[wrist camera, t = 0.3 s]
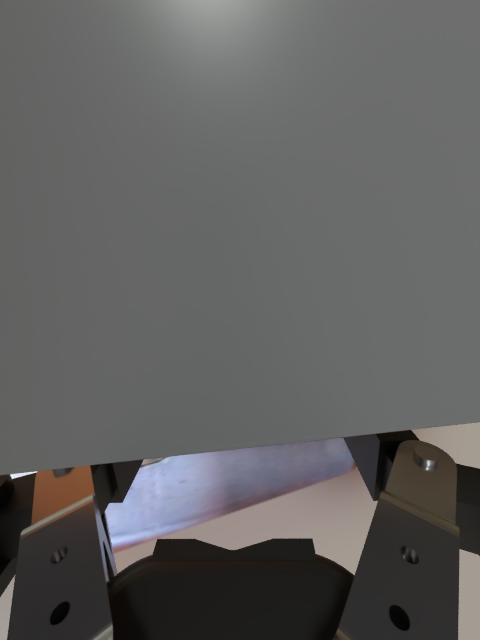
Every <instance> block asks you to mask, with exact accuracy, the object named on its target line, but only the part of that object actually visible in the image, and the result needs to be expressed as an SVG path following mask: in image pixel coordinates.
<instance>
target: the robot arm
mask: <svg viewBox="0 0 480 640" xmlns="http://www.w3.org/2000/svg"><path fill="white" fill-rule="evenodd" d="M343 438H344V440H345V442H346V444H347V446H348V448H349V450H350V453H351V455H352V457H353V459H354V461H355V463H356V465H357V467H358V469H359V471H360V474H361V476H362V478H363V480H364V482H365V484H366V486H367V488H368V490H369V492H370V495H371V496H372V499H373V501H378V503H377V507H376V510H375V513H374V516H373V519H372V522H371V526H370V529H369V532H368V535H367V538H366V541H365V545H364V548H363V551H362V554H361V557H360V561H359V564H358V567H357V570H356V573H355V576H354V575H353V574H352V573H350V572H349V571H348V570H346V569H345V568H344V567H342V566H341V565H339V564H337V563H336V562H334V561H332V560H330V559H328V558H325V557H323V556H320V555H317V554H315V549H314V544H313V540H312V539H271V540H267V541H264V542H261V543H258V544H254V545H251V546H248V547H244V548H241V549H238V550H228V549H225V548H222V547H218V546H215V545H212V544H209V543H206V542H202V541H199V540H196V539H157V542H156V546H155V549H154V552H153V555H150V556H147V557H145V558H143V559H140V560H138V561H136V562H135V563H133V564H131V565H130V566H128V567H127V568H125V569H124V570H122V571H121V572H119V573H117V568H116V564H115V559H114V554H113V548H112V543H111V538H110V533H109V528H108V523H107V518H106V514H105V510H106V508H107V506H108V504H109V503H123V501H124V498H125V496H126V494H127V492H128V490H129V488H130V486H131V484H132V482H133V480H134V478H135V476H136V474H137V472H138V470H139V468H140V466H141V464H142V462H143V460H144V459H142V460H133V461H124V462H115V463H106V464H97V465H88V466H79V467H70V468H61V469H52V470H43V471H38V472H37V473H33V474H29V475H26V476H22V477H18V478H14V479H12V478H11V476H10V474H6V475H0V597H1V595H2V594H3V592H4V591H5V589H6V588H7V586H8V584H9V583H10V581H11V580H12V578H13V577H14V575H15V583H14V590H13V598H12V606H11V614H10V622H9V630H8V638H7V640H458V603H459V598H458V597H459V549H462V550H465V551H468V552H472V553H475V554H478V555H479V556H480V469H478V468H473V467H469V466H464V465H460V464H456V463H455V462H454V460H453V459H452V458H451V457H450V456H449V455H448V454H447V453H446V452H444V451H443V450H441V449H440V448H438V447H436V446H434V445H432V444H429V443H426V442H423V441H420V440H419V439H418V438H417V437H416V435H415V434H414V433H413V432H412V431H411V430H404V431H395V432H386V433H377V434H368V435H359V436H350V437H343Z"/></svg>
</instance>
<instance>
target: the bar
mask: <svg viewBox="0 0 480 640" xmlns="http://www.w3.org/2000/svg"><path fill="white" fill-rule="evenodd" d="M476 422H480V0H0V475H6V474H15V473H24V472H33V471H43V470H52V469H61V468H70V467H79V466H88V465H97V464H106V463H115V462H124V461H133V460H142V459H151V458H160V457H169V456H178V455H187V454H196V453H205V452H214V451H223V450H232V449H241V448H250V447H259V446H268V445H278V444H287V443H296V442H305V441H314V440H323V439H332V438H341V437H350V436H359V435H368V434H377V433H386V432H395V431H404V430H412V429H421V428H431V427H439V426H449V425H458V424H467V423H476Z"/></svg>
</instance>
